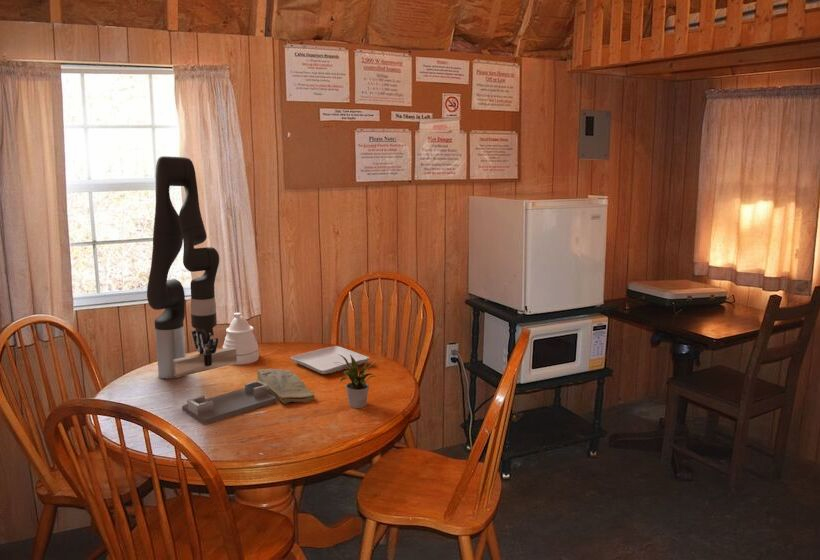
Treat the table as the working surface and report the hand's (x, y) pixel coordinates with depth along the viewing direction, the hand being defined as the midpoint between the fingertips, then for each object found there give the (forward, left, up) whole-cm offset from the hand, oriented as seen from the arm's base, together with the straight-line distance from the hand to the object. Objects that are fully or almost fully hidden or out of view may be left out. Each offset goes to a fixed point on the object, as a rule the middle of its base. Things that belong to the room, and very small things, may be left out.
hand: (205, 364), depth 209 cm
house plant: (+38, +28, -10) cm, 49 cm away
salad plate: (+3, +46, -11) cm, 48 cm away
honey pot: (-25, +26, -10) cm, 38 cm away
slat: (0, 0, -2) cm, 2 cm away
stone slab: (+12, +21, -11) cm, 26 cm away
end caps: (+13, 0, -9) cm, 16 cm away
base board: (+13, 0, -10) cm, 17 cm away
